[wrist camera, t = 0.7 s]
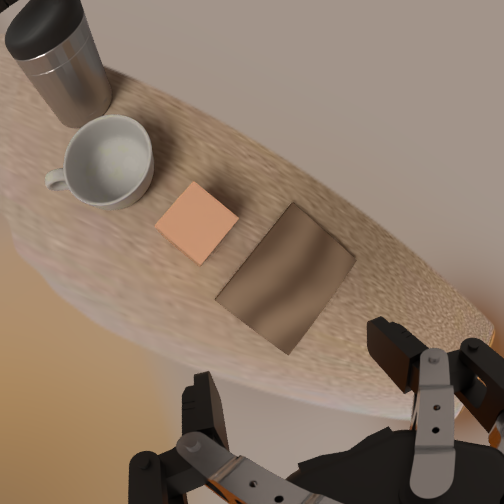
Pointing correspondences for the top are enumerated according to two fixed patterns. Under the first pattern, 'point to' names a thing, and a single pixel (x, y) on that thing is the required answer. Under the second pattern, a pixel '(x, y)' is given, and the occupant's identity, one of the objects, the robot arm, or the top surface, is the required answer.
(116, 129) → the teacup
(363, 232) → the top surface
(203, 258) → the peach colored cube
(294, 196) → the top surface
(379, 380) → the top surface
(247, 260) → the board
